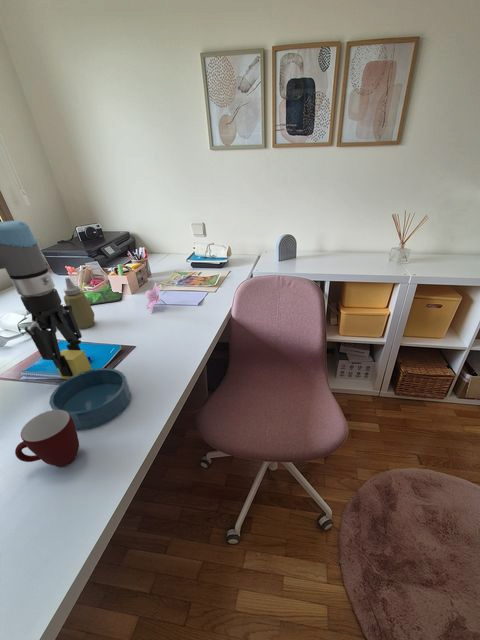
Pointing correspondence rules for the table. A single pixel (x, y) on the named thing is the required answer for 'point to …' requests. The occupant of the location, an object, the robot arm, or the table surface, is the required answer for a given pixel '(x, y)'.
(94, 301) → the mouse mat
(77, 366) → the sponge
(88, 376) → the bowl
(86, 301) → the squeeze bottle
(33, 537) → the table surface
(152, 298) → the lily
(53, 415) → the mug
